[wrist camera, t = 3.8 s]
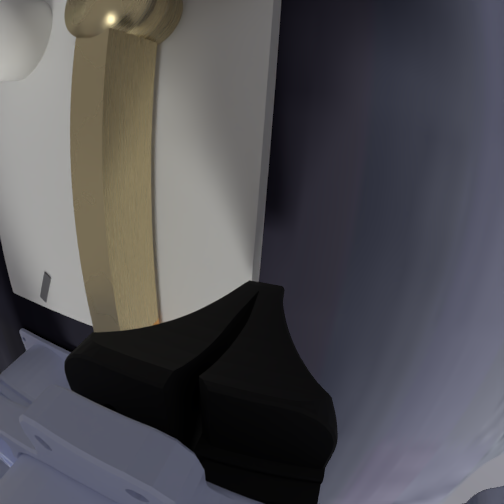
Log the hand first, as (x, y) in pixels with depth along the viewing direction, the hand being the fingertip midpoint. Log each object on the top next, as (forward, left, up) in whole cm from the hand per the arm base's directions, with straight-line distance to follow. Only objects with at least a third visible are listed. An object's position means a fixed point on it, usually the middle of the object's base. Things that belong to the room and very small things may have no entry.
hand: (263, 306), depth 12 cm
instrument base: (+5, +10, -3) cm, 11 cm away
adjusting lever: (+4, +6, -1) cm, 7 cm away
